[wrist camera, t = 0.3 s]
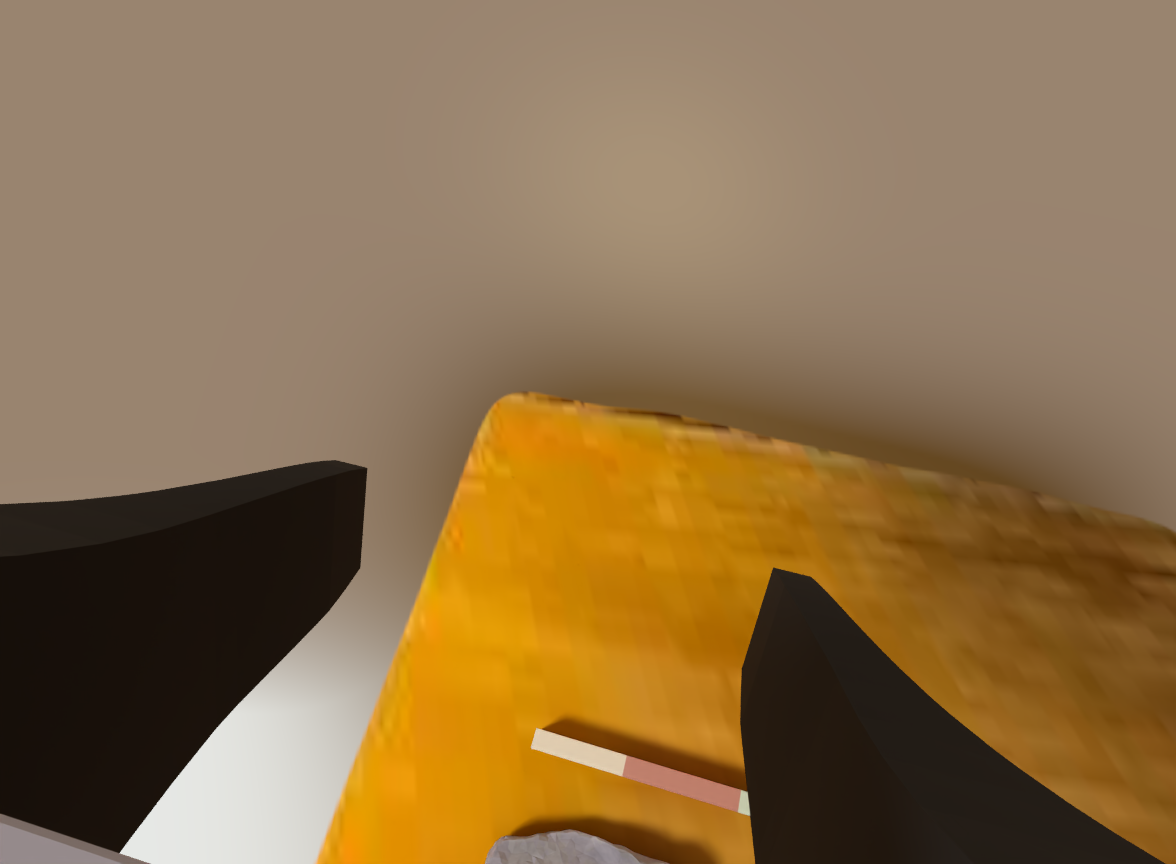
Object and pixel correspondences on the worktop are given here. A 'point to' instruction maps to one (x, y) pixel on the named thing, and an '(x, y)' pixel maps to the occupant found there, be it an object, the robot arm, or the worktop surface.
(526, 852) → the stone block
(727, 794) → the trap lane
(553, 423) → the worktop surface
